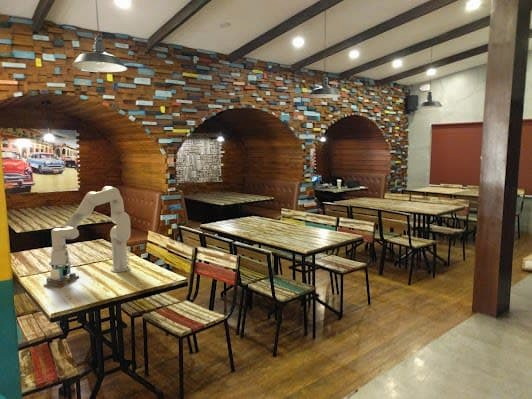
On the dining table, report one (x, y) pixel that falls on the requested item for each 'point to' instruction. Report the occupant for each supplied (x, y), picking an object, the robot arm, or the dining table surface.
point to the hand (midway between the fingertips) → (60, 274)
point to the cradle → (60, 281)
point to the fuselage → (58, 272)
